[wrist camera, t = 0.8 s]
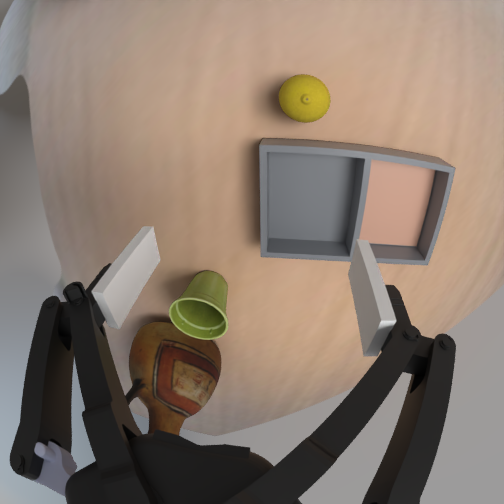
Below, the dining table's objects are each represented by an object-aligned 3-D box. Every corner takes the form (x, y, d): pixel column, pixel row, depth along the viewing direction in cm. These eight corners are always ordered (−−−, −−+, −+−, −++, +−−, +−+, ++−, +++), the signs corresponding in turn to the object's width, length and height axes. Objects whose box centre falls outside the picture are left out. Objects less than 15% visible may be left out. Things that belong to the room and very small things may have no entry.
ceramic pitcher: (195, 372, 66) (165, 475, 42) (130, 331, 60) (80, 436, 35) (244, 348, 57) (218, 482, 32) (167, 295, 51) (102, 437, 26)
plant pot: (243, 271, 45) (234, 309, 38) (231, 309, 50) (221, 346, 43) (188, 255, 44) (170, 290, 37) (183, 294, 50) (167, 329, 43)
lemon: (321, 122, 30) (330, 131, 24) (277, 114, 31) (273, 121, 24) (328, 81, 27) (339, 78, 21) (282, 73, 27) (280, 67, 21)
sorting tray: (263, 138, 32) (259, 145, 29) (439, 158, 29) (455, 168, 26) (263, 239, 41) (260, 256, 37) (417, 248, 38) (427, 265, 34)
